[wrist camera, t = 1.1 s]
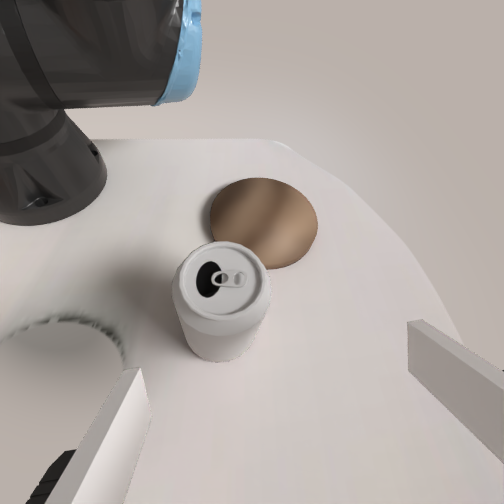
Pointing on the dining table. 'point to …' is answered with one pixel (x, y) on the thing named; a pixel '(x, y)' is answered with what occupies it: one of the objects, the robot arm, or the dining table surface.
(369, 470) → the dining table surface
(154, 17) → the robot arm
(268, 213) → the walnut coaster
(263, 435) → the dining table surface
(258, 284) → the can
